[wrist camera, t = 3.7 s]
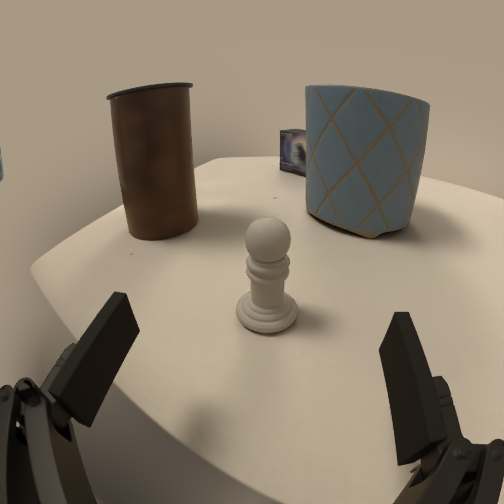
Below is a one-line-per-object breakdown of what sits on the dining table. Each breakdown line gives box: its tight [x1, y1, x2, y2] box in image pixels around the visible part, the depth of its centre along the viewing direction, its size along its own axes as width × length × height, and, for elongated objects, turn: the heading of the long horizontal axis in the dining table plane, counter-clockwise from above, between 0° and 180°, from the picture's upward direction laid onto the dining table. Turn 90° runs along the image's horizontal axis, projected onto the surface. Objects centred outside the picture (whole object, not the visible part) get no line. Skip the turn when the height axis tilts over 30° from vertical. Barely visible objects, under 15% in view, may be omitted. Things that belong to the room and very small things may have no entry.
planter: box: [305, 85, 430, 238], centre depth 38 cm, size 19×19×20 cm
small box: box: [280, 129, 306, 177], centre depth 63 cm, size 11×6×10 cm, turn 41°
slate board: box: [107, 83, 193, 100], centre depth 31 cm, size 12×12×1 cm
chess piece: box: [236, 217, 298, 333], centre depth 22 cm, size 5×5×9 cm
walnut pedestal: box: [110, 86, 198, 240], centre depth 36 cm, size 11×11×20 cm
